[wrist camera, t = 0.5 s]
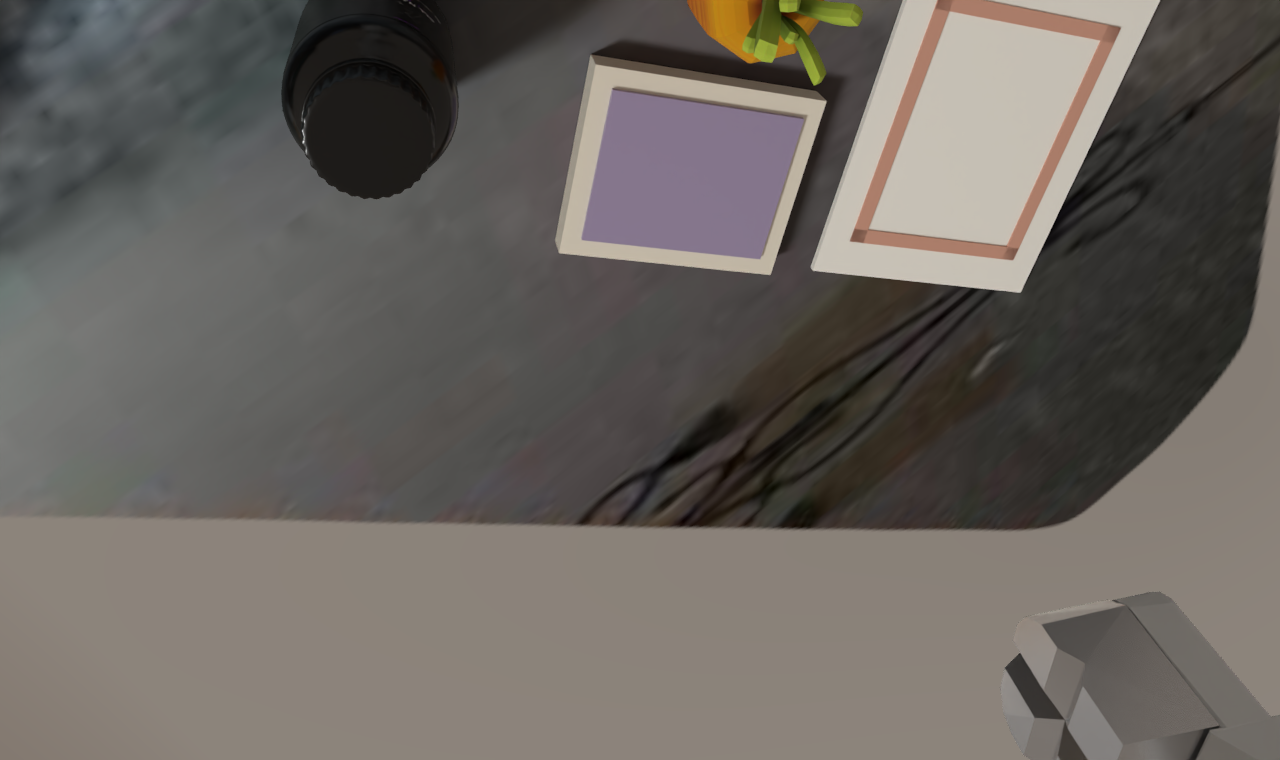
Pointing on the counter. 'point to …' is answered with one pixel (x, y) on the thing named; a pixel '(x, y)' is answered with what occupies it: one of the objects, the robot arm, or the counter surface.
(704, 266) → the ink pad
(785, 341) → the counter surface
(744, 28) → the carrot
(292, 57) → the supplement bottle
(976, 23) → the print card
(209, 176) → the counter surface
